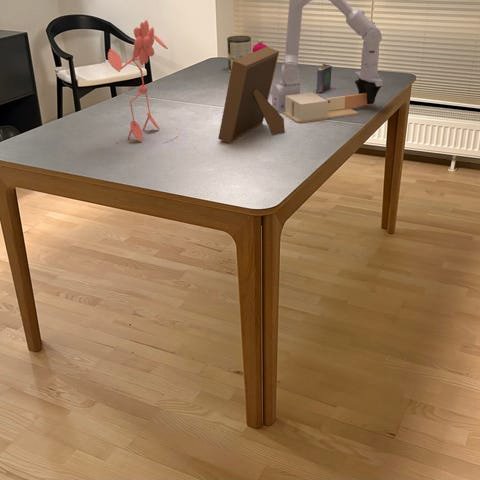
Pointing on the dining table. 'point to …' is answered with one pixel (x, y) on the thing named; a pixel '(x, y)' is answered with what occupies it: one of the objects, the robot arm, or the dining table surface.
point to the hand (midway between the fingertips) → (366, 102)
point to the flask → (323, 78)
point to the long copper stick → (347, 101)
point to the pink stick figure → (143, 51)
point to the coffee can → (238, 48)
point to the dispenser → (311, 108)
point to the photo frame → (250, 96)
